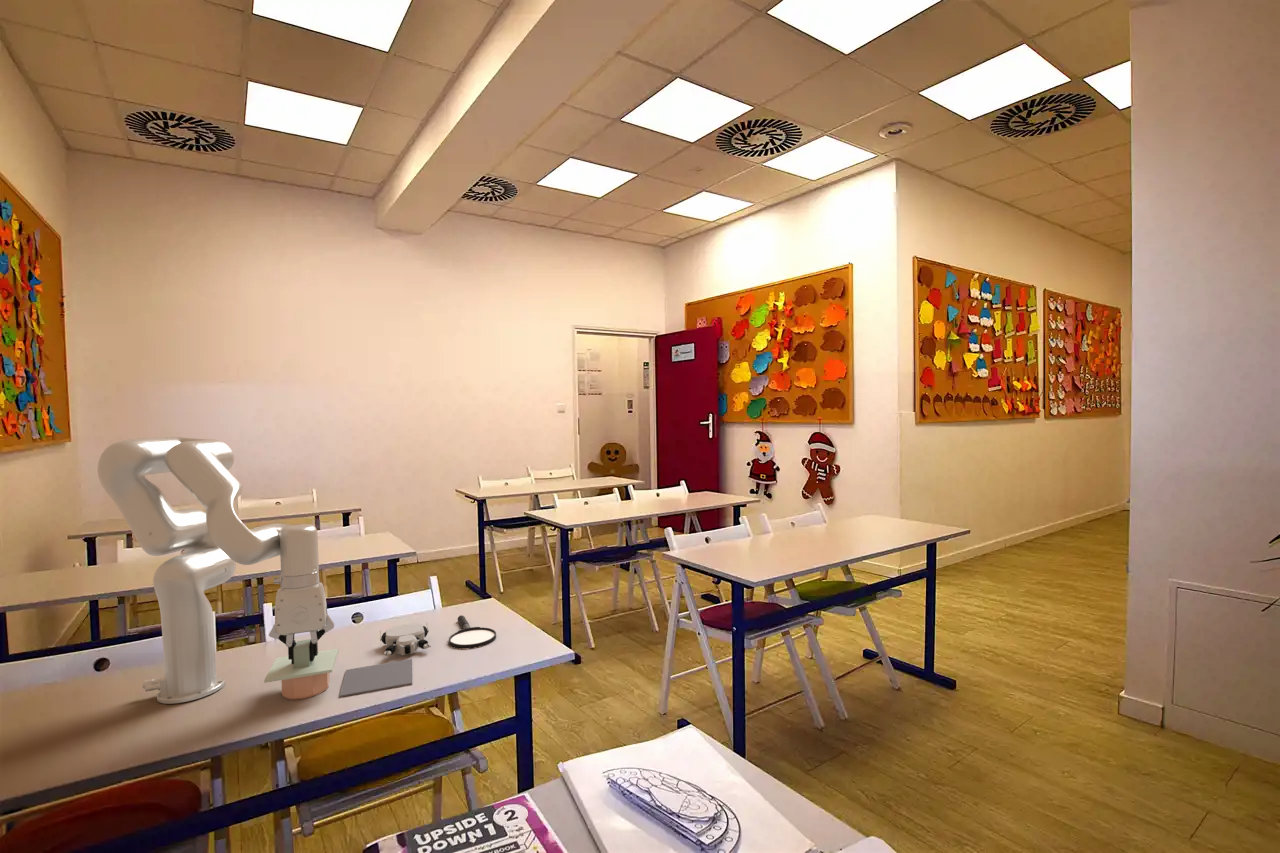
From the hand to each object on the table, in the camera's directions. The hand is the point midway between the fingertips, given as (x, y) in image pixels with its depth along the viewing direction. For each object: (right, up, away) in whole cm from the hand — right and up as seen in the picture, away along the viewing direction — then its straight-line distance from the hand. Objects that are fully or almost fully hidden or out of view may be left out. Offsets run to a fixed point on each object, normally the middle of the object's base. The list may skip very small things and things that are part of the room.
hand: (303, 659), depth 139 cm
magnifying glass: (+28, -6, +33) cm, 44 cm away
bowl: (+1, -7, 0) cm, 7 cm away
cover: (0, -1, 0) cm, 1 cm away
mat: (+15, -6, +5) cm, 17 cm away
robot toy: (+14, -6, +23) cm, 28 cm away
